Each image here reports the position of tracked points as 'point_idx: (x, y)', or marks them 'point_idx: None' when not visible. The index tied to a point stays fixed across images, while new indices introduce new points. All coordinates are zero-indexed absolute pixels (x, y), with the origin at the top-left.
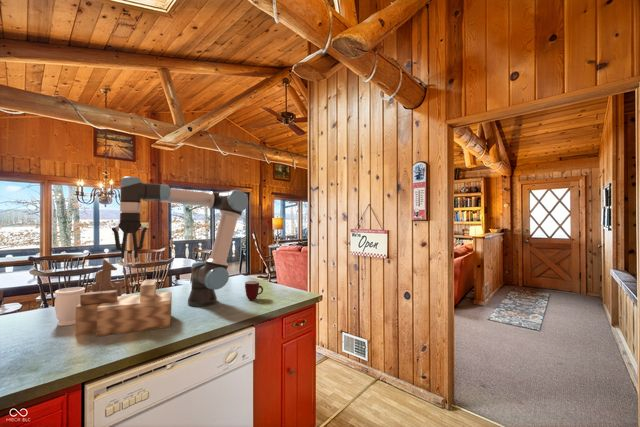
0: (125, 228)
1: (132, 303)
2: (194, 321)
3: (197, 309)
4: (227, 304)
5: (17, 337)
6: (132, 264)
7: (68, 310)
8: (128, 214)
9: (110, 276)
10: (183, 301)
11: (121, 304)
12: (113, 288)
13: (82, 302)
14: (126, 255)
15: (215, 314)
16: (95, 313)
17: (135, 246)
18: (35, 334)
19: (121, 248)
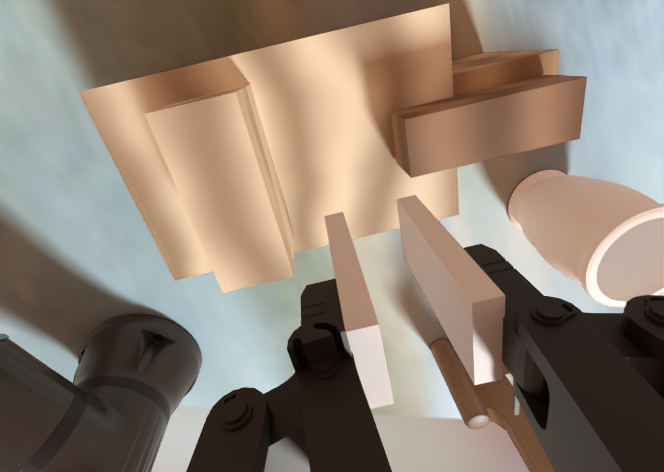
0: None
1: (283, 60)
2: (61, 136)
3: (128, 284)
4: (25, 329)
5: (660, 77)
6: (338, 220)
7: (575, 182)
8: None
9: (522, 448)
10: (229, 373)
11: (338, 50)
12: (483, 401)
13: (544, 77)
14: (442, 282)
15: (9, 214)
16: (453, 69)
17: (332, 423)
18: (614, 98)
19: (595, 331)
